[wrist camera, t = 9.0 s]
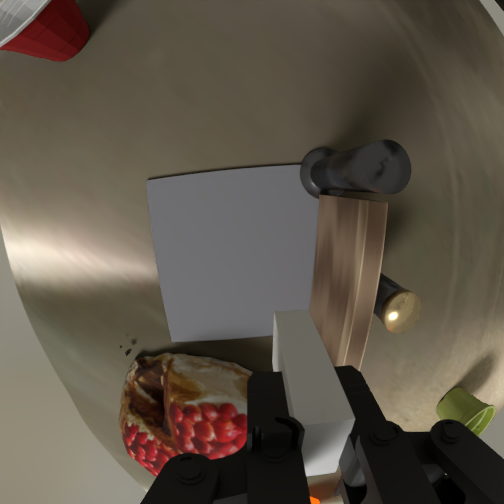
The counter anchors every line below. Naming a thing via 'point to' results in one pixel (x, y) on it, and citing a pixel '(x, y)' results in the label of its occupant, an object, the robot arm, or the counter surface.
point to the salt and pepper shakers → (375, 181)
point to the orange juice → (314, 500)
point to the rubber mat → (232, 249)
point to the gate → (347, 274)
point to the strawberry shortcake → (183, 408)
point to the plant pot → (466, 410)
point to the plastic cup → (43, 28)
